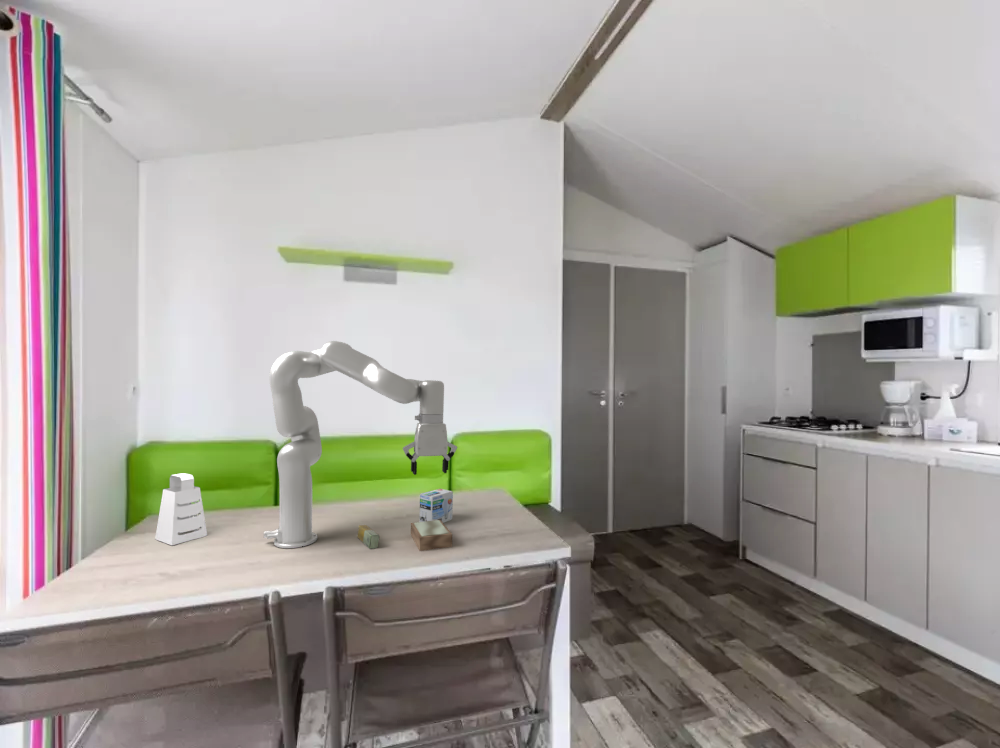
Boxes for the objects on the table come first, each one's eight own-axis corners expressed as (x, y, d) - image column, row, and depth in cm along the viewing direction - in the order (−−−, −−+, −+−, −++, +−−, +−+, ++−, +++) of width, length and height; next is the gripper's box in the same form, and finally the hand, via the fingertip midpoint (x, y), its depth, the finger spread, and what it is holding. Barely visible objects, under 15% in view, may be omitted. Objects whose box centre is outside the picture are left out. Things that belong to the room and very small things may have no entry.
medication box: (378, 548, 146) (379, 535, 146) (369, 549, 144) (371, 536, 145) (364, 536, 156) (366, 524, 156) (356, 537, 154) (358, 524, 154)
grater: (190, 529, 161) (190, 470, 161) (207, 535, 156) (207, 474, 156) (155, 539, 152) (155, 476, 152) (171, 545, 147) (172, 480, 147)
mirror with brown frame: (419, 551, 143) (419, 537, 143) (410, 535, 157) (410, 522, 157) (452, 547, 147) (452, 533, 147) (440, 531, 161) (440, 519, 161)
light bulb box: (432, 528, 165) (432, 496, 165) (418, 524, 169) (418, 493, 169) (453, 520, 173) (453, 490, 173) (439, 517, 177) (440, 488, 177)
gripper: (405, 420, 145) (404, 477, 146) (460, 420, 152) (459, 474, 152) (401, 418, 152) (400, 472, 153) (454, 418, 159) (453, 469, 159)
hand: (429, 473), depth 152 cm, fingers open, 9 cm apart
